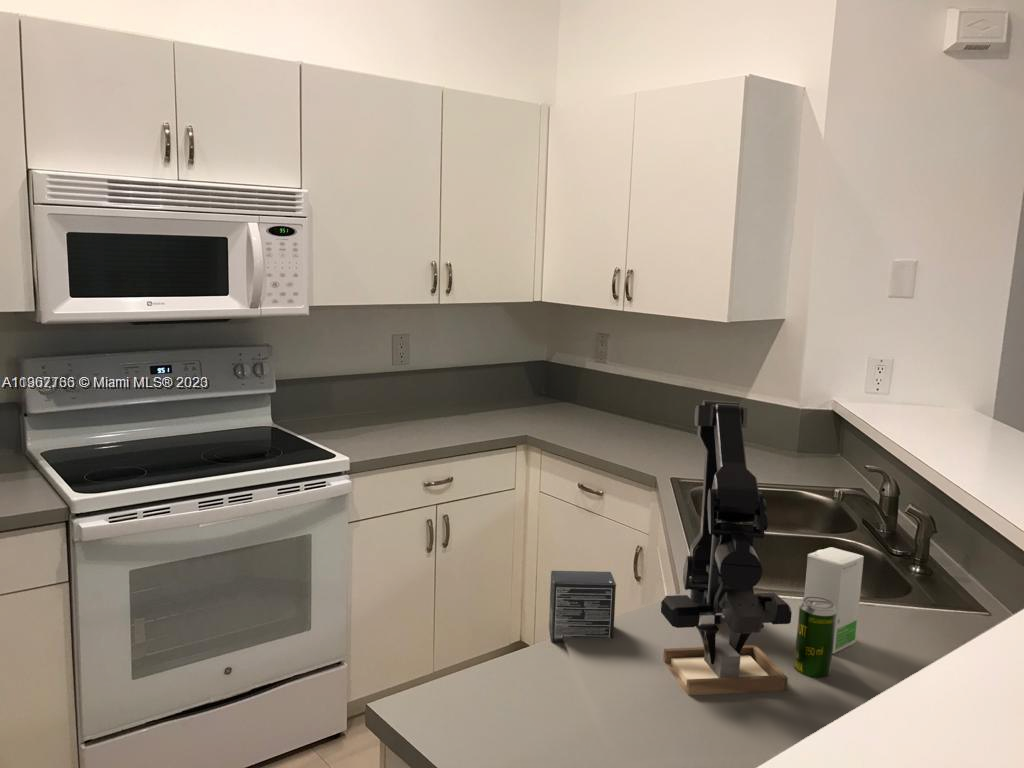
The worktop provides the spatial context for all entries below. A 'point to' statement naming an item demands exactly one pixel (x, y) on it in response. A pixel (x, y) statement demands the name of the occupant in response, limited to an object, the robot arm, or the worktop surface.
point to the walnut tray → (731, 684)
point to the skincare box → (837, 589)
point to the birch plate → (706, 672)
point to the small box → (581, 605)
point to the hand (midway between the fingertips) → (721, 662)
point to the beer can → (815, 637)
